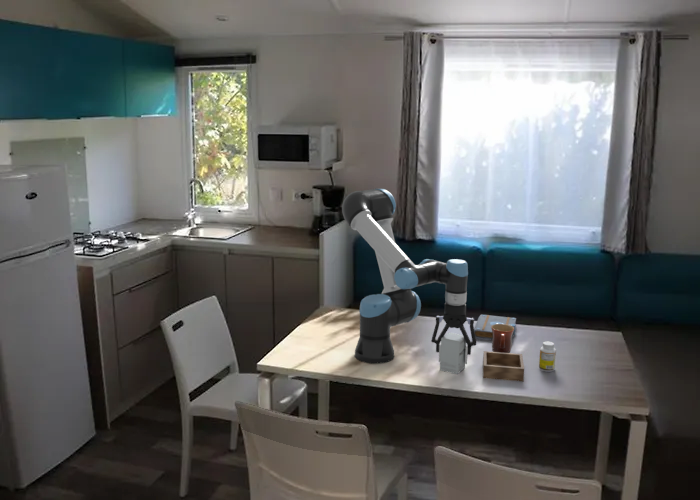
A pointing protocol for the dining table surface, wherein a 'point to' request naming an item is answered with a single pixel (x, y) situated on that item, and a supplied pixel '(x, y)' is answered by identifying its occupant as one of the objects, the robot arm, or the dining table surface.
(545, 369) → the supplement bottle
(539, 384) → the dining table surface
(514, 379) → the tray
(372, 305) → the robot arm
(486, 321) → the book
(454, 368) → the supplement box
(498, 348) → the mug
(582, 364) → the dining table surface
